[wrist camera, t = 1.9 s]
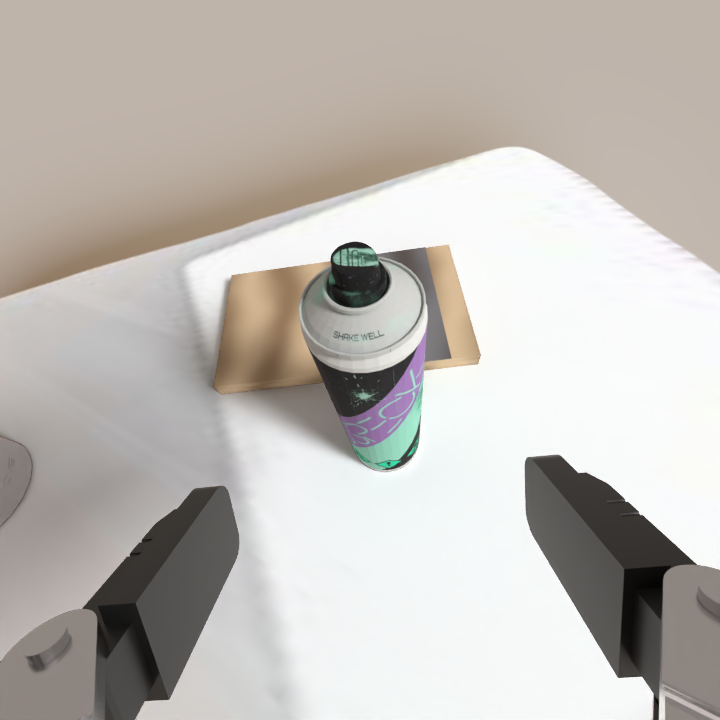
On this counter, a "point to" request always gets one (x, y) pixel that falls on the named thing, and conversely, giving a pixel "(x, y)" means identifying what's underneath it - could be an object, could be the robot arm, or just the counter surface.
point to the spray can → (370, 350)
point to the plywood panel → (285, 338)
